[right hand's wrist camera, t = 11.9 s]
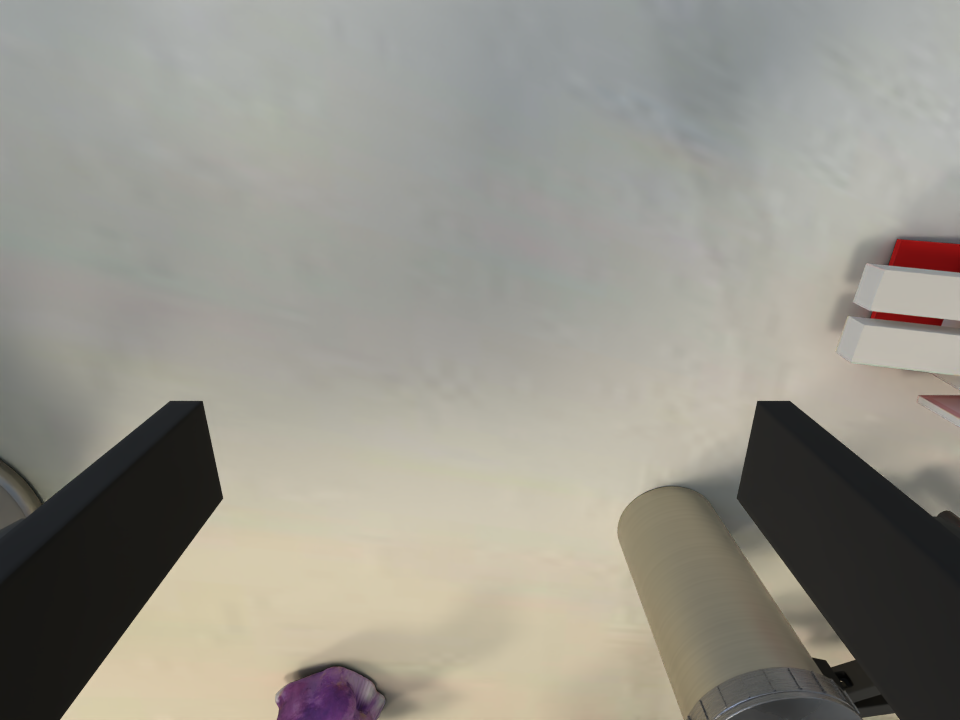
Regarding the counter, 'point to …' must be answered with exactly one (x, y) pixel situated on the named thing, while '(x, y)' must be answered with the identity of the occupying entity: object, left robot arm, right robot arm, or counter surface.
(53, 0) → the counter surface
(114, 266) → the counter surface
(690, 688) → the jar
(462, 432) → the counter surface
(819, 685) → the lid
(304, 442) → the counter surface
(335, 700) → the figurine
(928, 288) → the toy
